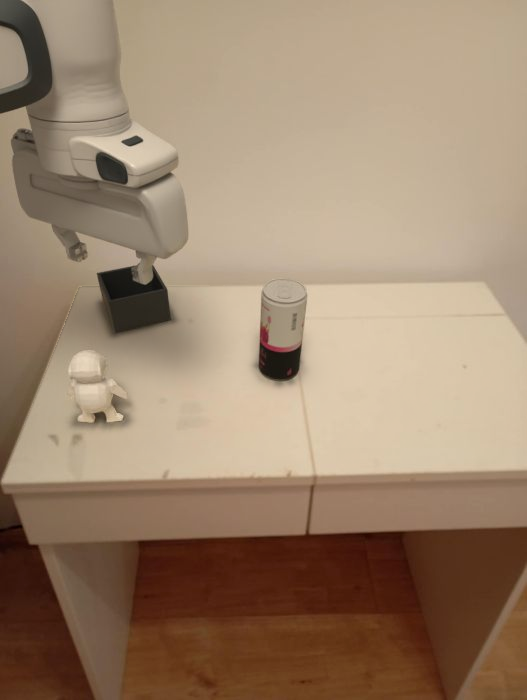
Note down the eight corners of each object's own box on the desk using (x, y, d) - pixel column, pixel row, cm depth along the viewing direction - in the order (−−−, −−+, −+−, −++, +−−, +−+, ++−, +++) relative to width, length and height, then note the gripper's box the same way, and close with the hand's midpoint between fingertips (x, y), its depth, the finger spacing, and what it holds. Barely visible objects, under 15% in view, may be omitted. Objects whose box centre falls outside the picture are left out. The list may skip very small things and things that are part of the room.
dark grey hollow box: (115, 333, 81) (108, 302, 77) (103, 302, 88) (96, 272, 84) (171, 319, 85) (167, 289, 81) (155, 291, 92) (151, 262, 87)
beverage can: (256, 380, 74) (259, 301, 64) (260, 353, 79) (263, 275, 69) (298, 383, 73) (308, 304, 64) (299, 356, 78) (307, 278, 69)
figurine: (132, 406, 68) (119, 343, 61) (127, 431, 65) (112, 367, 57) (76, 407, 68) (55, 343, 60) (67, 432, 64) (44, 368, 57)
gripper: (-19, 132, 46) (21, 258, 55) (150, 173, 39) (166, 308, 48) (32, 118, 50) (62, 236, 59) (192, 153, 44) (199, 280, 53)
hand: (110, 269), depth 54 cm, fingers open, 8 cm apart
